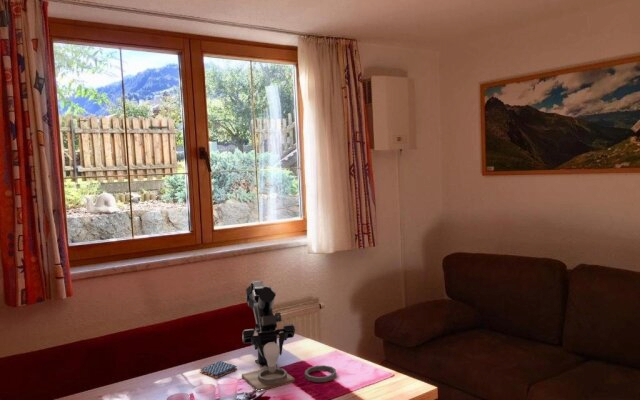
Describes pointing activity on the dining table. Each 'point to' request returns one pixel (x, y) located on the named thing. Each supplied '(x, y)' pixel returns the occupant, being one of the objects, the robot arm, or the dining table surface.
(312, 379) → the collar
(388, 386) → the dining table surface
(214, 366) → the woven mat
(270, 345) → the lightbulb
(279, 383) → the socket board
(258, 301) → the robot arm
